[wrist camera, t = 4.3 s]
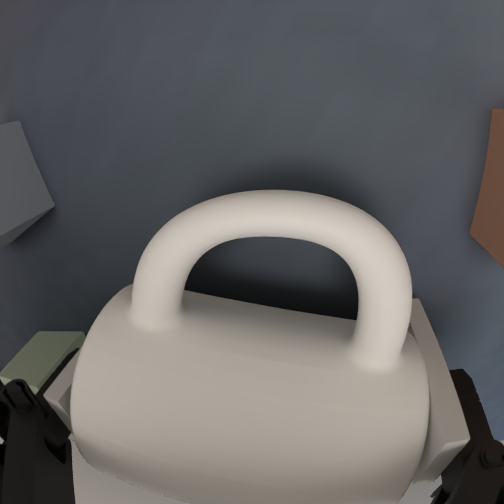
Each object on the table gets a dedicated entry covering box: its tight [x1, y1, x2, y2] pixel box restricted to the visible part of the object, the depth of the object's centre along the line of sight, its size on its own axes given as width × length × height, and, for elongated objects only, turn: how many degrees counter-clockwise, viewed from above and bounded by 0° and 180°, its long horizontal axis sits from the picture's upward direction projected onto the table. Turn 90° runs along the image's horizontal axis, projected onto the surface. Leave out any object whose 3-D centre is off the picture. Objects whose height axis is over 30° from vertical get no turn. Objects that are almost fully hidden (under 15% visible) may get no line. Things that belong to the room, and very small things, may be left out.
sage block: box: [0, 331, 86, 441], centre depth 16 cm, size 5×5×5 cm
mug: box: [70, 190, 430, 504], centre depth 9 cm, size 12×10×8 cm
